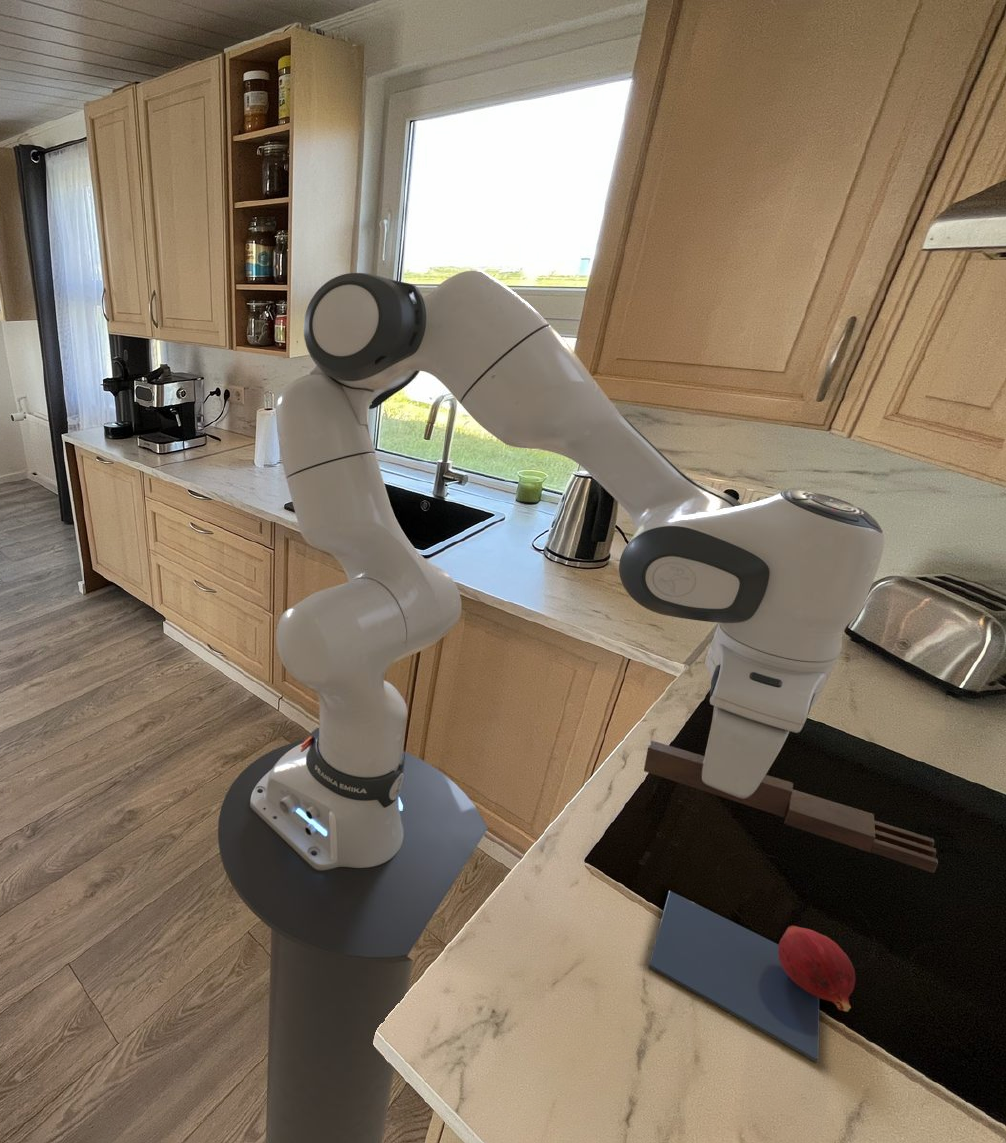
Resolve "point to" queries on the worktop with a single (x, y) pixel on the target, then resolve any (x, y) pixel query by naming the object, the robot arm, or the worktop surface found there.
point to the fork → (802, 810)
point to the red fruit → (817, 965)
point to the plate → (735, 973)
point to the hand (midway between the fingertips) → (719, 775)
